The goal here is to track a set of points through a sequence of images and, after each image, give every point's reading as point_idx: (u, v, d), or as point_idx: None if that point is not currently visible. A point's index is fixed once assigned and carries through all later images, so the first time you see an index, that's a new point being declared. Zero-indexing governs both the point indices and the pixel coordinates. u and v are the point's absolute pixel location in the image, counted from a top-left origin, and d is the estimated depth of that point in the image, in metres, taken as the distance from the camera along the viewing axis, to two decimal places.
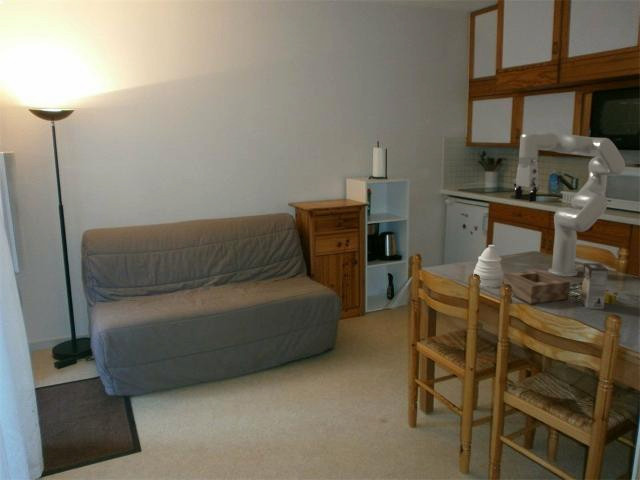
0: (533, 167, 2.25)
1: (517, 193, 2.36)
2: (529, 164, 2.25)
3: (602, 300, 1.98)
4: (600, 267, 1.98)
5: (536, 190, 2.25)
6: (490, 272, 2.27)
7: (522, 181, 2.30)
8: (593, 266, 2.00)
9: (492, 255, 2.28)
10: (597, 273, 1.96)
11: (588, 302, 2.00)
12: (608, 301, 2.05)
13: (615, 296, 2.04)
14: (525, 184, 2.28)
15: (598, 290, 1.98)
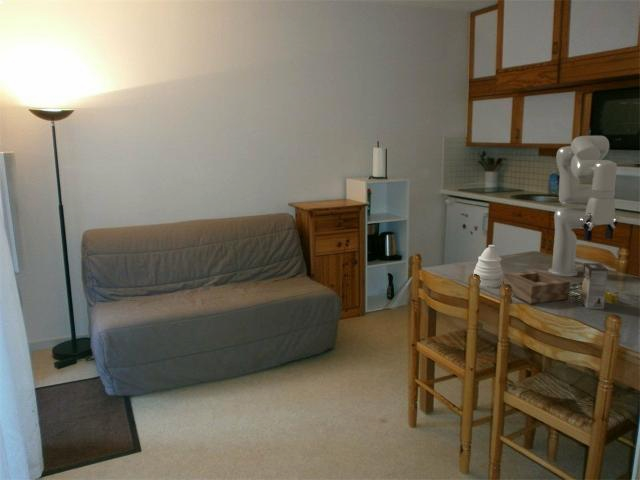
0: None
1: None
2: None
3: (602, 300, 1.98)
4: (600, 267, 1.98)
5: None
6: (490, 272, 2.27)
7: (605, 218, 1.94)
8: (593, 266, 2.00)
9: (491, 255, 2.28)
10: (597, 273, 1.96)
11: (588, 302, 2.00)
12: (610, 301, 2.05)
13: (617, 296, 2.04)
14: (610, 220, 1.95)
15: (598, 290, 1.98)
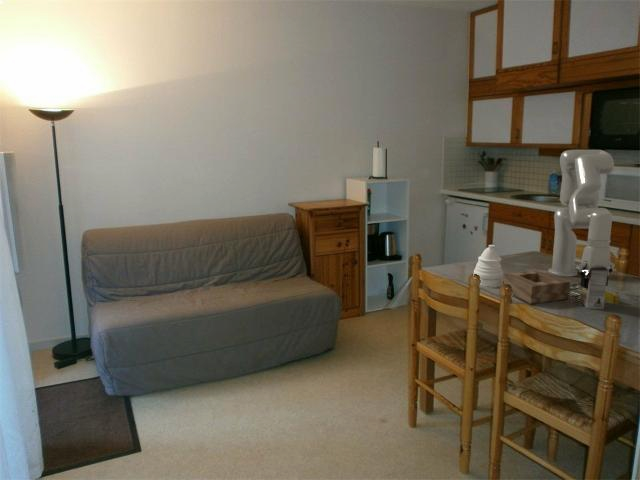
0: None
1: None
2: None
3: (602, 300, 1.98)
4: None
5: None
6: (490, 272, 2.27)
7: (600, 266, 1.98)
8: None
9: (492, 255, 2.28)
10: (597, 273, 1.96)
11: (588, 302, 2.00)
12: (611, 301, 2.06)
13: (618, 296, 2.04)
14: None
15: (598, 290, 1.98)
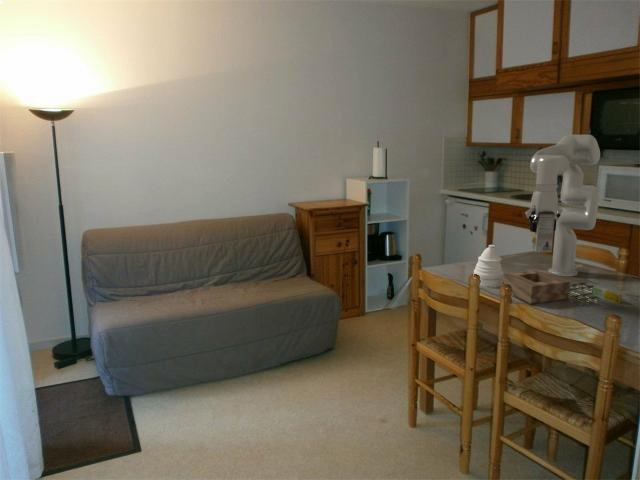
0: None
1: None
2: None
3: (550, 243, 2.05)
4: None
5: None
6: (490, 272, 2.27)
7: (548, 211, 2.05)
8: None
9: (491, 255, 2.28)
10: (545, 217, 2.03)
11: (537, 246, 2.06)
12: (614, 300, 2.06)
13: (621, 295, 2.05)
14: None
15: (546, 233, 2.04)
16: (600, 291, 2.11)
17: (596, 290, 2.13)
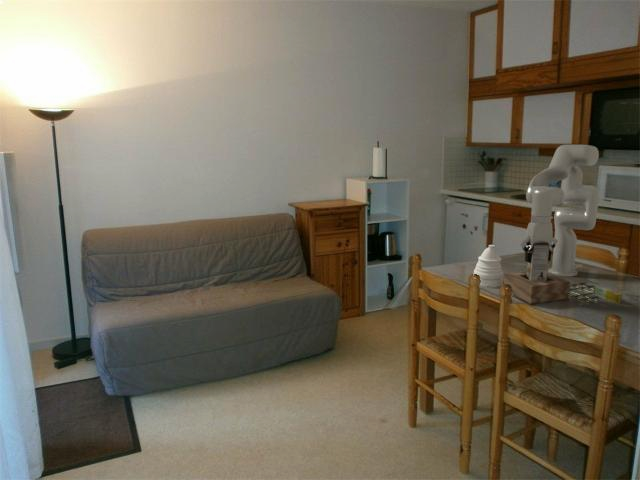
0: None
1: None
2: None
3: (545, 274, 2.08)
4: None
5: None
6: (490, 272, 2.27)
7: (543, 242, 2.08)
8: None
9: (492, 255, 2.28)
10: (539, 248, 2.06)
11: (532, 276, 2.09)
12: (614, 300, 2.06)
13: (621, 295, 2.05)
14: None
15: (541, 264, 2.08)
16: (601, 291, 2.12)
17: (597, 289, 2.13)
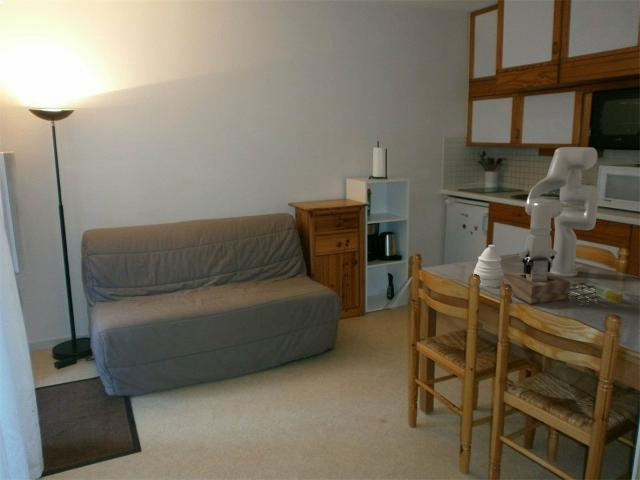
0: None
1: None
2: None
3: None
4: None
5: None
6: (490, 272, 2.27)
7: (542, 254, 2.09)
8: None
9: (492, 255, 2.28)
10: (539, 263, 2.08)
11: None
12: (614, 300, 2.06)
13: (621, 295, 2.05)
14: (547, 255, 2.10)
15: (540, 279, 2.09)
16: (602, 291, 2.12)
17: (599, 289, 2.14)
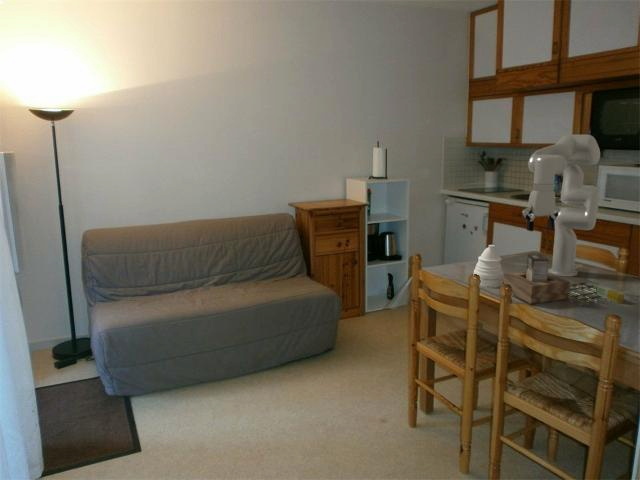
0: None
1: None
2: None
3: None
4: (542, 257, 2.10)
5: None
6: (490, 272, 2.27)
7: (545, 210, 2.05)
8: (535, 257, 2.11)
9: (491, 255, 2.28)
10: (539, 263, 2.08)
11: None
12: (616, 300, 2.06)
13: (623, 295, 2.05)
14: (550, 212, 2.06)
15: (540, 279, 2.09)
16: (603, 290, 2.12)
17: (600, 289, 2.14)
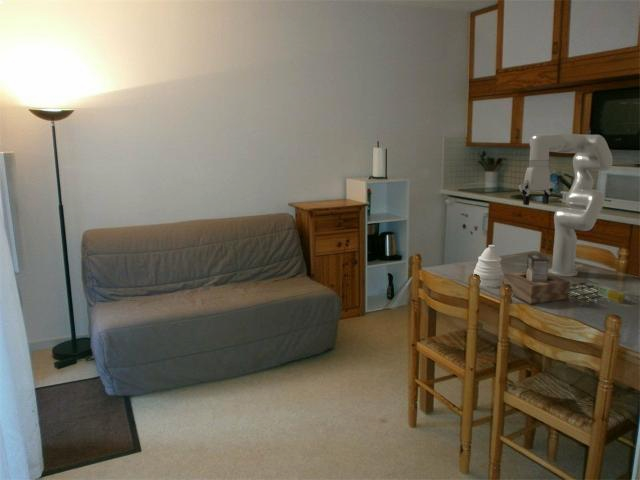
0: None
1: None
2: None
3: None
4: (542, 257, 2.10)
5: None
6: (490, 272, 2.27)
7: (540, 185, 2.19)
8: (535, 257, 2.11)
9: (492, 255, 2.28)
10: (539, 263, 2.08)
11: None
12: (616, 300, 2.07)
13: (623, 295, 2.05)
14: (545, 187, 2.20)
15: (540, 279, 2.09)
16: (604, 290, 2.12)
17: (601, 289, 2.14)
